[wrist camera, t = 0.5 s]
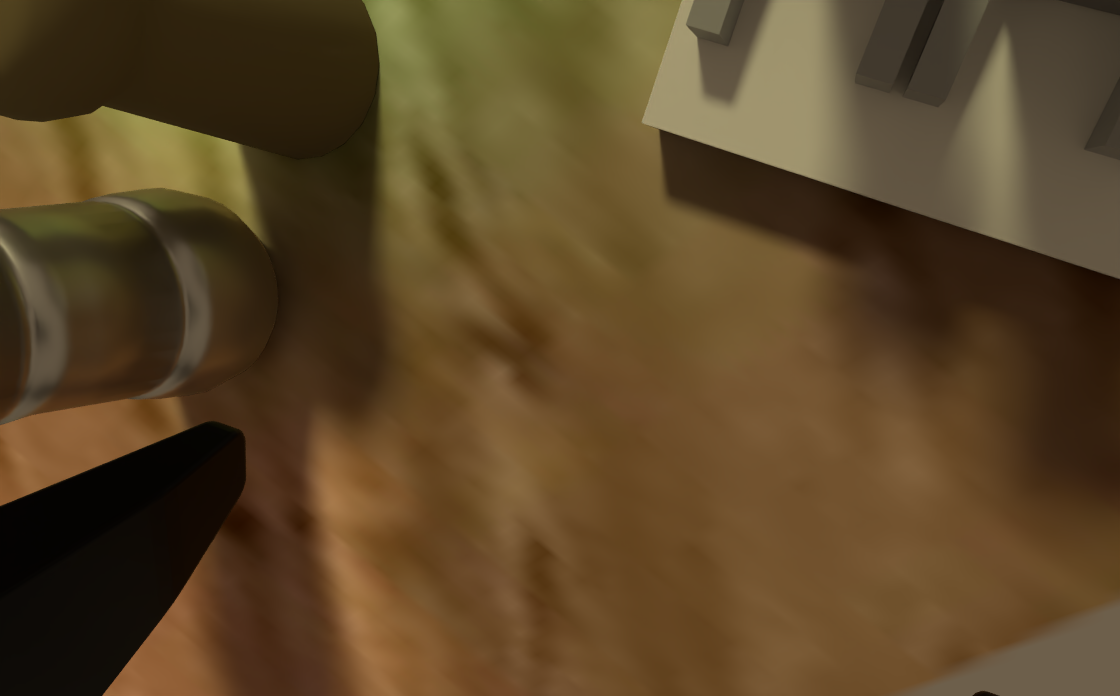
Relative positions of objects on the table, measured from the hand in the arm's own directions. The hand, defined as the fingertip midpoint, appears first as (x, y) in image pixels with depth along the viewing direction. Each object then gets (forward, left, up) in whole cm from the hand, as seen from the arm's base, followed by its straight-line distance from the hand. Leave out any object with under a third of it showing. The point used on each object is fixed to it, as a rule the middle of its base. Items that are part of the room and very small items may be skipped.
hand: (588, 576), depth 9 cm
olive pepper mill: (+4, +16, -14) cm, 22 cm away
